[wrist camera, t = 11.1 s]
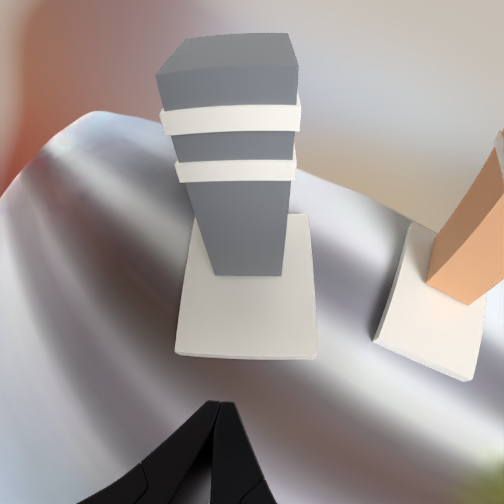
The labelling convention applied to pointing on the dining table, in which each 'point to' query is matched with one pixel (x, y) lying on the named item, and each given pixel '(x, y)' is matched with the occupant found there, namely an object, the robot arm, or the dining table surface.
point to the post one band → (473, 237)
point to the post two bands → (235, 143)
